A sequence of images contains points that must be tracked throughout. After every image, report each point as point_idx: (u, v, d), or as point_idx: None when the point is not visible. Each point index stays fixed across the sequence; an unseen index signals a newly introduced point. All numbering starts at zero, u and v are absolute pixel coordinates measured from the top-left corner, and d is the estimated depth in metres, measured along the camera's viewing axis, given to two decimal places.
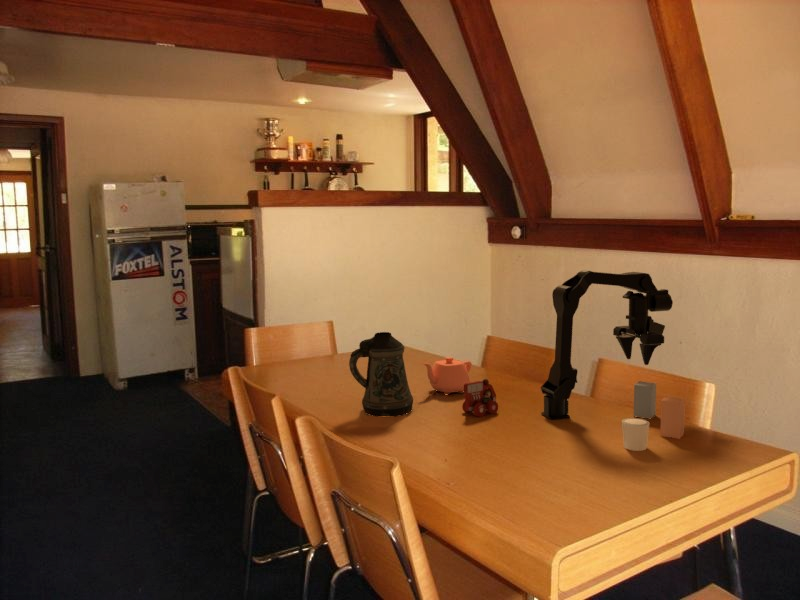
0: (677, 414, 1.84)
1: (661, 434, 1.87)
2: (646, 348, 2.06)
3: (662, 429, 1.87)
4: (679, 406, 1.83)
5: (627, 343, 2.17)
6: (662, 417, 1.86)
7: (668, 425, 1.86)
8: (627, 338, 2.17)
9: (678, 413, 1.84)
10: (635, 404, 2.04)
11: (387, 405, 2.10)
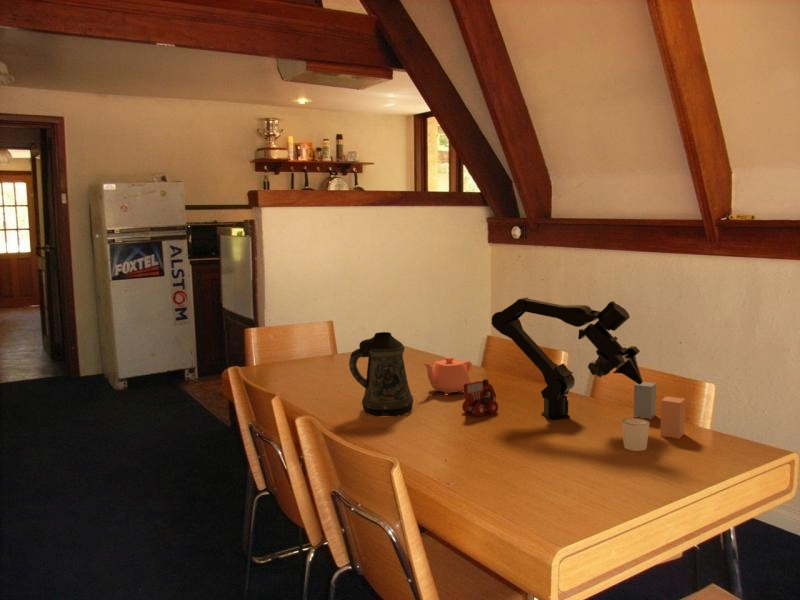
0: (677, 414, 1.84)
1: (661, 434, 1.87)
2: None
3: (662, 429, 1.87)
4: (679, 406, 1.83)
5: None
6: (662, 417, 1.86)
7: (668, 425, 1.86)
8: None
9: (678, 413, 1.84)
10: (635, 404, 2.04)
11: (387, 405, 2.10)
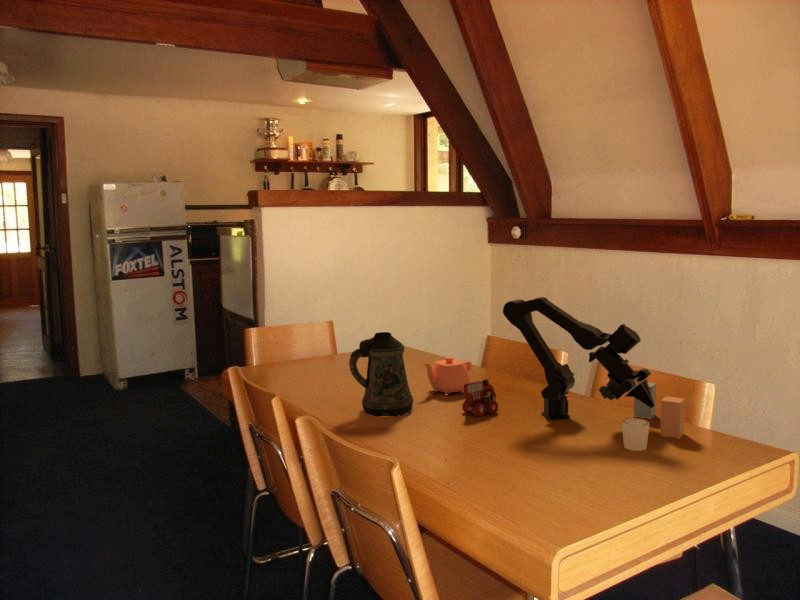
0: (677, 414, 1.84)
1: (661, 434, 1.87)
2: None
3: (662, 429, 1.87)
4: (679, 406, 1.83)
5: None
6: (662, 417, 1.86)
7: (668, 425, 1.86)
8: None
9: (678, 413, 1.84)
10: (635, 404, 2.04)
11: (387, 405, 2.10)
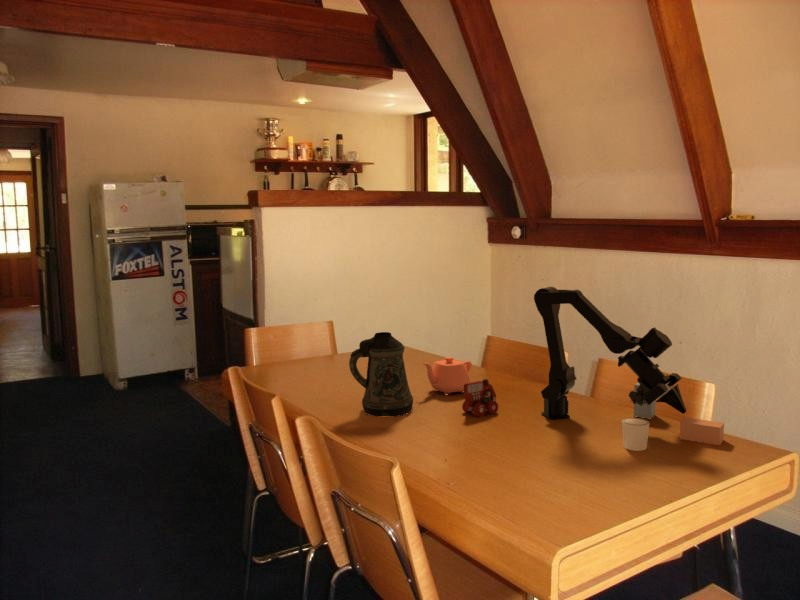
0: (706, 441, 1.80)
1: (681, 422, 1.83)
2: None
3: (687, 424, 1.83)
4: (715, 444, 1.79)
5: None
6: (700, 426, 1.81)
7: (693, 431, 1.82)
8: None
9: (707, 442, 1.80)
10: (635, 404, 2.04)
11: (387, 405, 2.10)
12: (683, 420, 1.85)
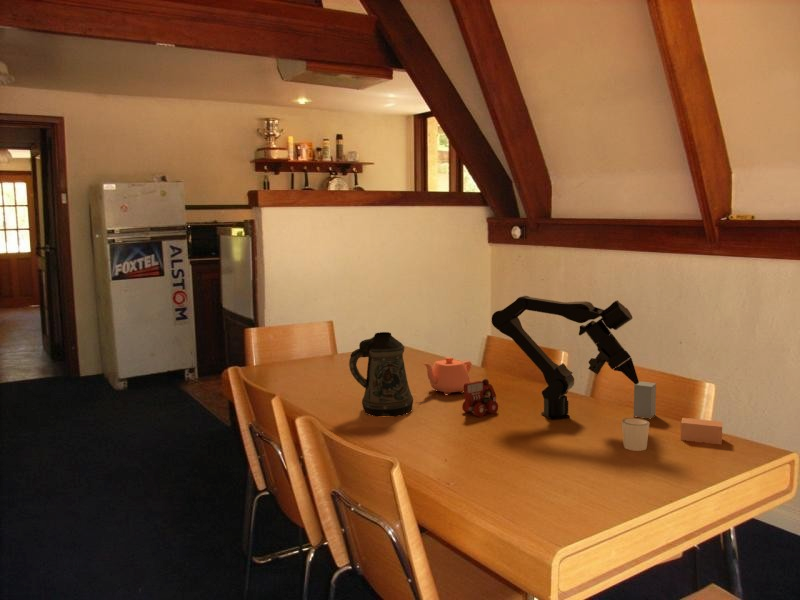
0: (707, 441, 1.80)
1: (682, 423, 1.83)
2: None
3: (688, 425, 1.82)
4: (717, 443, 1.79)
5: None
6: (702, 426, 1.81)
7: (694, 431, 1.82)
8: None
9: (709, 442, 1.80)
10: (635, 404, 2.04)
11: (387, 405, 2.10)
12: (683, 421, 1.84)
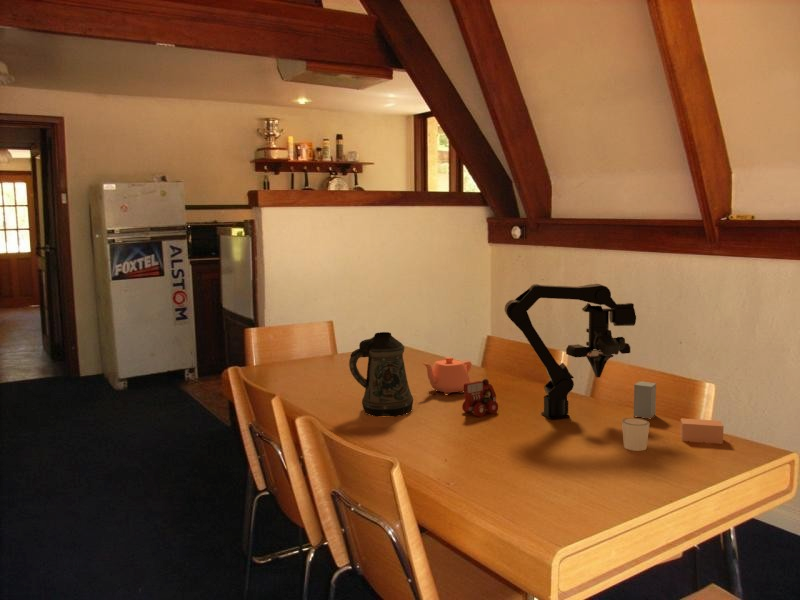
0: (709, 440, 1.81)
1: (684, 424, 1.82)
2: (591, 359, 2.05)
3: (690, 425, 1.81)
4: (718, 443, 1.80)
5: (598, 360, 2.05)
6: (703, 426, 1.80)
7: (696, 431, 1.81)
8: (599, 355, 2.05)
9: (710, 442, 1.80)
10: (635, 404, 2.04)
11: (387, 405, 2.10)
12: (684, 422, 1.83)
